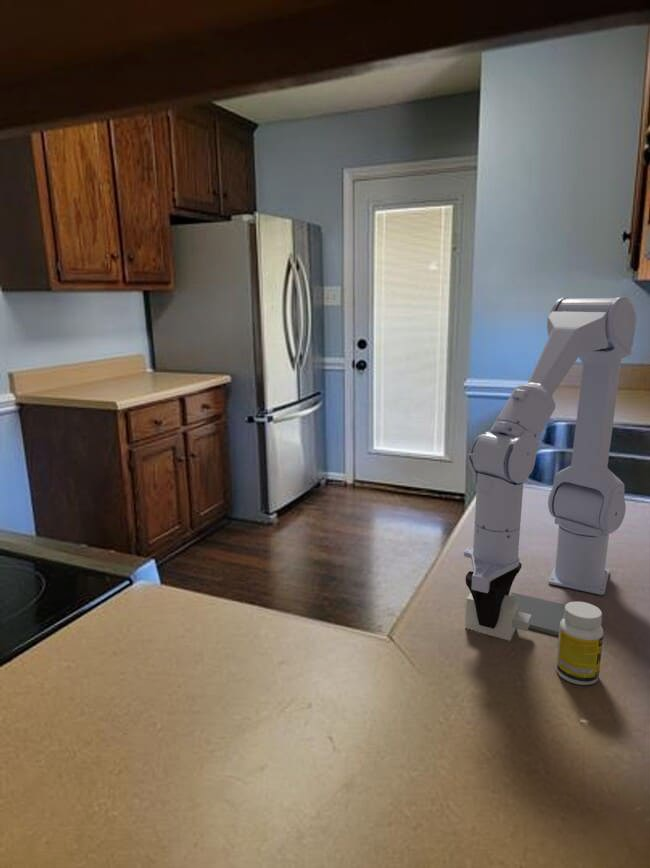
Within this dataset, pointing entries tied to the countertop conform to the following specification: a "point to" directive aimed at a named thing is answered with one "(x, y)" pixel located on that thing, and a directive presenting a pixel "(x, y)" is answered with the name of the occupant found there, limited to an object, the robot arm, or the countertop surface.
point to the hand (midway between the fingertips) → (491, 618)
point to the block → (499, 619)
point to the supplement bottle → (580, 643)
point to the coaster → (541, 613)
